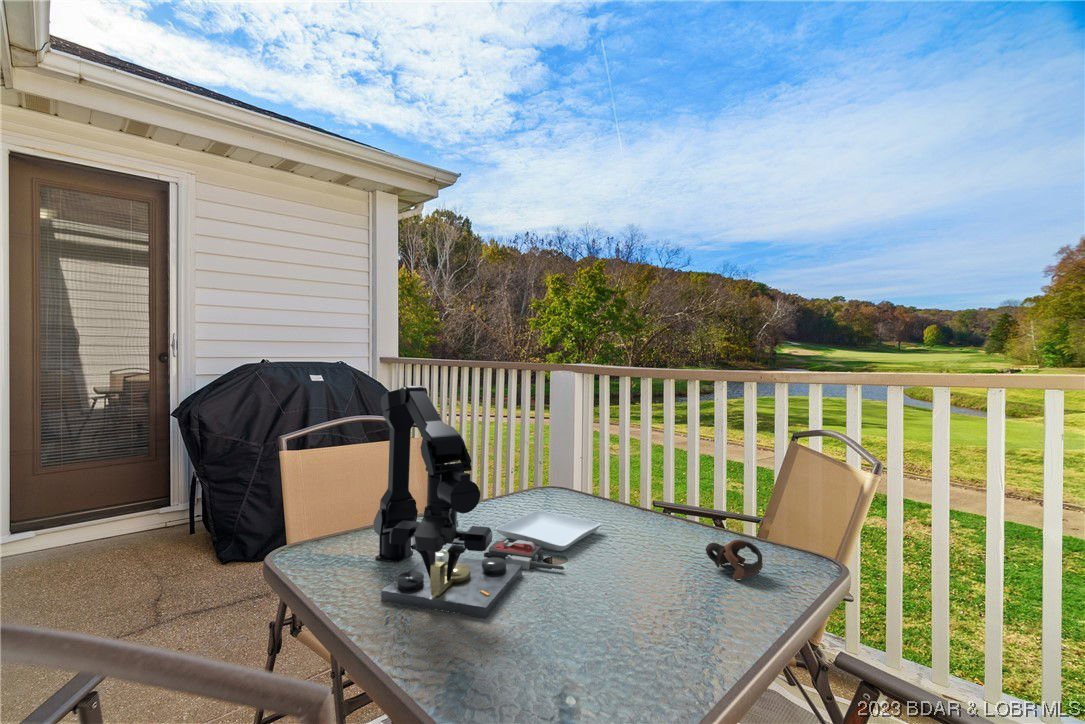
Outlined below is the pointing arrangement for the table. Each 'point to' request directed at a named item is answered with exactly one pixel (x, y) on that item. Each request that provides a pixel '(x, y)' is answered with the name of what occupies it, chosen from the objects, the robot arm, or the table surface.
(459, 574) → the brass knob
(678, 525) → the table surface
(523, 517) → the salad plate
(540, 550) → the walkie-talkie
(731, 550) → the pottery mug
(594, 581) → the table surface
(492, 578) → the instrument base
